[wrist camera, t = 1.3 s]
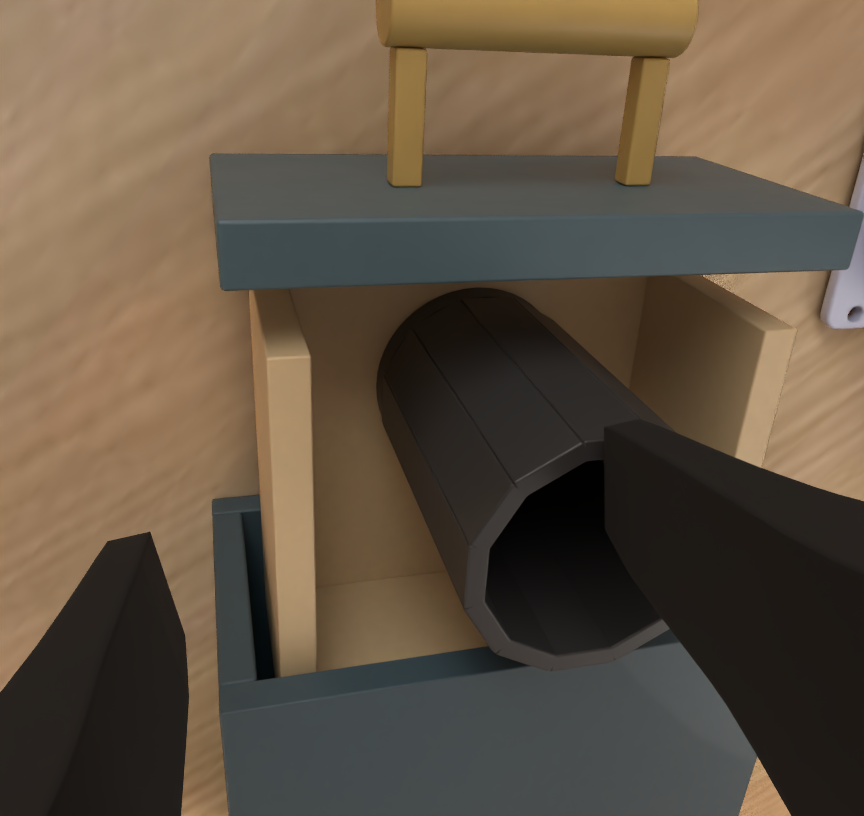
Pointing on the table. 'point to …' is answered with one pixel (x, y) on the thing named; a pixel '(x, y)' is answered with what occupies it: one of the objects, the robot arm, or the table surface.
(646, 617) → the black cup
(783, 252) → the drawer
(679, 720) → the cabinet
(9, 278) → the table surface
